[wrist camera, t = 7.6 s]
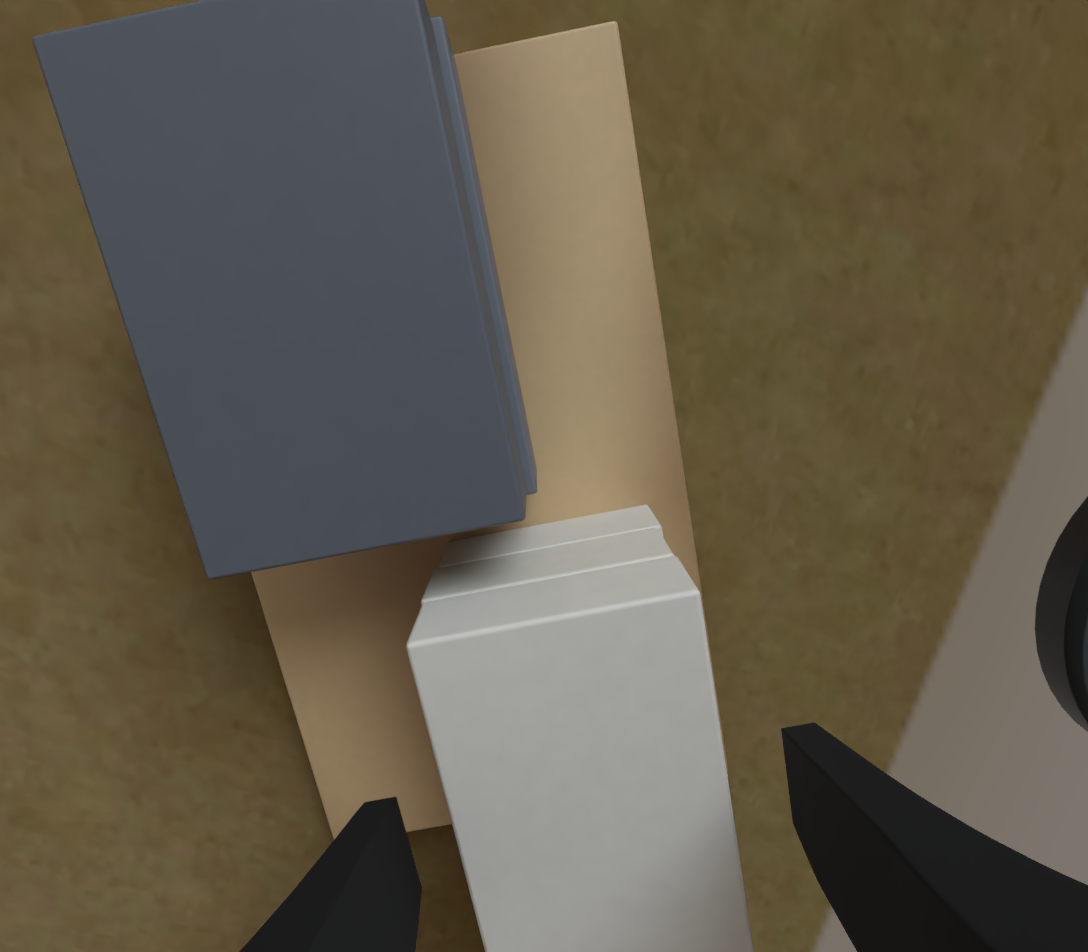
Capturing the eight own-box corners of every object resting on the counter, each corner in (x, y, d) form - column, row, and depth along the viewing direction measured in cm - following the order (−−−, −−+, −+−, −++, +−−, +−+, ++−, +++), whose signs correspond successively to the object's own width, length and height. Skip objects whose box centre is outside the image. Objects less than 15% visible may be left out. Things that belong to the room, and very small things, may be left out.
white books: (647, 503, 16) (679, 552, 12) (693, 783, 18) (732, 895, 14) (443, 541, 16) (418, 600, 13) (508, 815, 18) (502, 934, 14)
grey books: (455, 62, 14) (421, -58, 10) (537, 471, 16) (538, 524, 11) (181, 120, 14) (24, 27, 10) (295, 517, 16) (207, 587, 12)
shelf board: (612, 39, 15) (617, 18, 14) (719, 753, 19) (729, 776, 18) (138, 137, 15) (110, 124, 14) (344, 819, 19) (334, 846, 18)
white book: (677, 553, 12) (701, 590, 11) (730, 896, 14) (757, 975, 12) (421, 600, 13) (403, 644, 11) (504, 934, 14) (501, 1019, 13)
